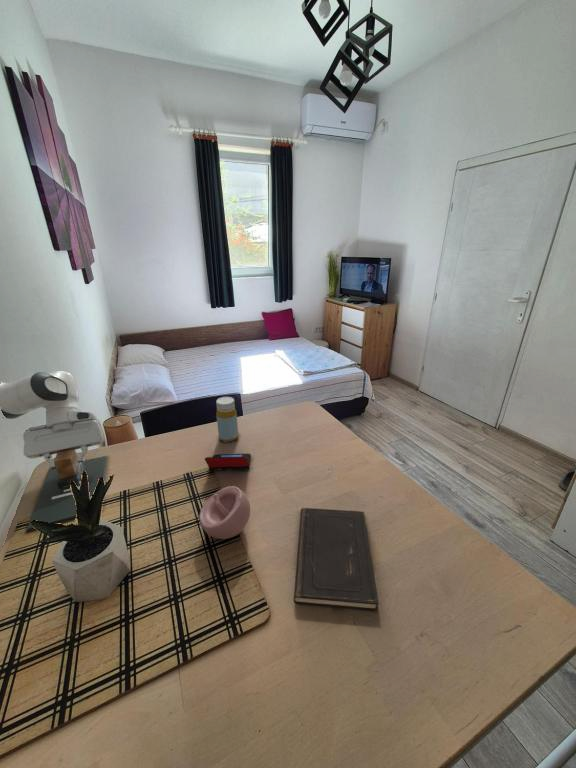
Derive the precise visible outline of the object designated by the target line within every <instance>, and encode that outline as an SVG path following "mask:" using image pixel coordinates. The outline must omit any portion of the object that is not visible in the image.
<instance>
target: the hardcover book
mask: <svg viewBox="0 0 576 768" xmlns="http://www.w3.org/2000/svg"><path fill="white" fill-rule="evenodd" d="M299 516H300V517H299V528H298V542H297V543H298V544H297V551H296V553H297V554H296V564H295V578H294V589H293V590H294V591H293V603H294V604H296V605H301V606H303V605H304V606H314V607H325V608H335V609H346V610H357V611H358V610H359V611H369V612H378V611H379V610H378V606H379V603H380V602H379V598H378V592H377V591H378V590H377V584H376V579H375V572H374V566H373V559H372V553H371V547H370V541H369V534H368V526H367V520H366V515H365V511H360V510H359V511H358V510H347V509H345V510H343V509H329V508H328V509H326V508H313V507H312V508H310V507H301V509H300V515H299Z"/></svg>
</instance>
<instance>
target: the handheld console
mask: <svg viewBox="0 0 576 768" xmlns="http://www.w3.org/2000/svg"><path fill="white" fill-rule="evenodd" d="M251 458H252V455H251V453H216V454H214V455H212V456H210V457H205V458H204V461H205V463H206V465H207V467H208V470H209V471H211V472H212V471H214V472H215V471H228V470H231V471H240V470H241V471H242V470H245V471H247V470H249V469H250V466H251Z"/></svg>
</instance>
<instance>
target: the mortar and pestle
mask: <svg viewBox="0 0 576 768" xmlns="http://www.w3.org/2000/svg"><path fill="white" fill-rule="evenodd" d="M250 516H251V505H250V501H249V499H248V497H247V494H245V492H244V491H243V490H242V489H240V488H239V487H237V486H234V485H232V486H231V485H229V486H226V487H223V488H221V489H219V490H218V491H216V492H215V493H214V494H212V495H211V496H210V497H209V498H208V499H207V500H206V502H205V503H204V504H203V506H202V508H201V510H200V512H199V520H198V521H199V524H200V526H201V527H202V529H203V530H204V532H205V533H206V534H207V535H209V536H210V537H211V538H214V539H218V540H228V539H231V538H233V537H236V536H237V535H239V534H240V533H241V532H242V531H243V530H244V529H245V528H246V526H247V525H248V523H249V520H250Z"/></svg>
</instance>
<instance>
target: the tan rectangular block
mask: <svg viewBox="0 0 576 768" xmlns="http://www.w3.org/2000/svg"><path fill="white" fill-rule="evenodd" d="M77 456H78V455H77V451H76V450H75V448H69V449H64V450H59V451H58V452H57V454H55V458H54V460H53V462H54V463H55V466H56V469H57V472H58V475H59V478H58V481H57V484H58V487H59V488H61V487H65V486H69V485H70V481H74V482H75V483H76V484H77V483H79V480H80V476H81V471H82V467H83V462H82V463H78V459H77Z"/></svg>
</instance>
